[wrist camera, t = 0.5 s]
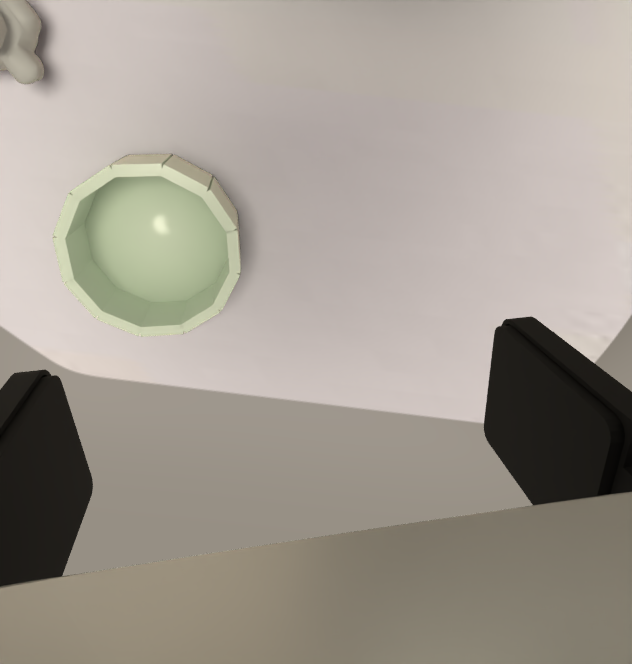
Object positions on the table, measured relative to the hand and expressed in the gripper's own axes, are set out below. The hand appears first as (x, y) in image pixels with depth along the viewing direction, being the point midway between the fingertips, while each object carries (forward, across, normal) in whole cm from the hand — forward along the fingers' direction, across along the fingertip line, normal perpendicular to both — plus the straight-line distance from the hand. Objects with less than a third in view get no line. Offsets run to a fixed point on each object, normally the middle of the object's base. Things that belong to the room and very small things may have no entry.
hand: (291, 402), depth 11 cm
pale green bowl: (+33, +8, +4) cm, 34 cm away
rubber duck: (+33, +15, -10) cm, 38 cm away
